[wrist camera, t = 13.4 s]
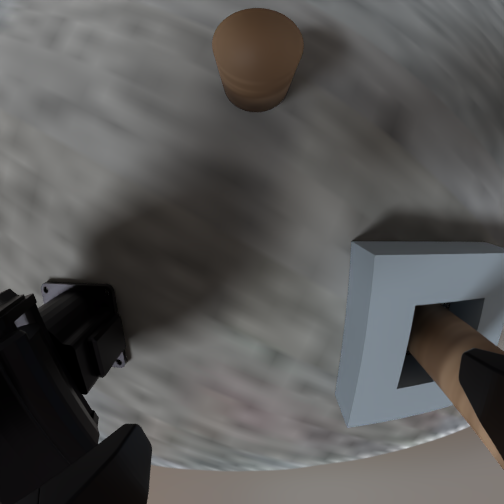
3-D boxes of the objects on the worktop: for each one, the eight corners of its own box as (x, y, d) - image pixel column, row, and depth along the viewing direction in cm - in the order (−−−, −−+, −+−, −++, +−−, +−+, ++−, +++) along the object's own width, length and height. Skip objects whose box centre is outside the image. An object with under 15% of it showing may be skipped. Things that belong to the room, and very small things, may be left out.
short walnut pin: (223, 112, 17) (211, 82, 12) (223, 56, 17) (213, 9, 11) (289, 112, 17) (305, 82, 12) (287, 55, 17) (300, 9, 11)
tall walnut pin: (390, 346, 21) (488, 481, 7) (398, 297, 20) (530, 417, 6) (432, 340, 21) (538, 451, 7) (442, 293, 20) (573, 389, 6)
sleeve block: (334, 394, 22) (347, 427, 18) (351, 241, 19) (374, 255, 15) (456, 373, 22) (478, 396, 18) (485, 241, 19) (517, 252, 15)
